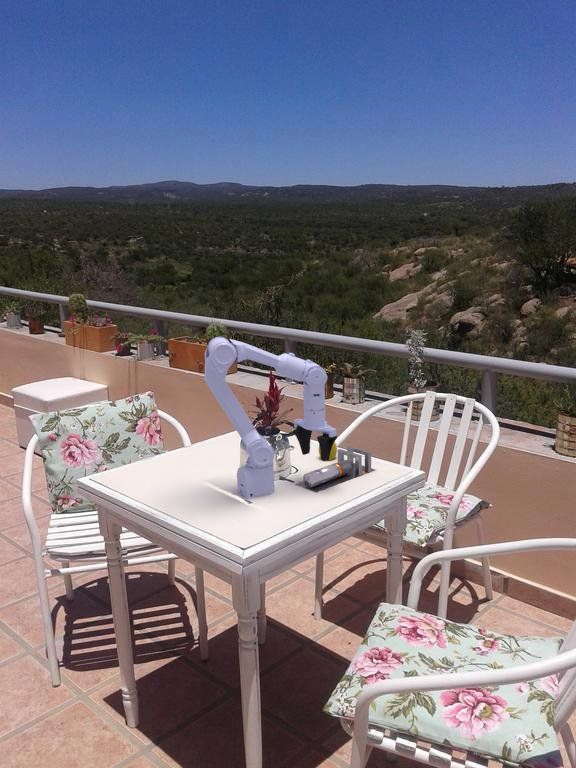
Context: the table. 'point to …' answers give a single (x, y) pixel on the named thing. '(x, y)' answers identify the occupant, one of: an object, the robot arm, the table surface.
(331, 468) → the tube
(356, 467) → the grey holder stand
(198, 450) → the table surface
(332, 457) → the lemon
